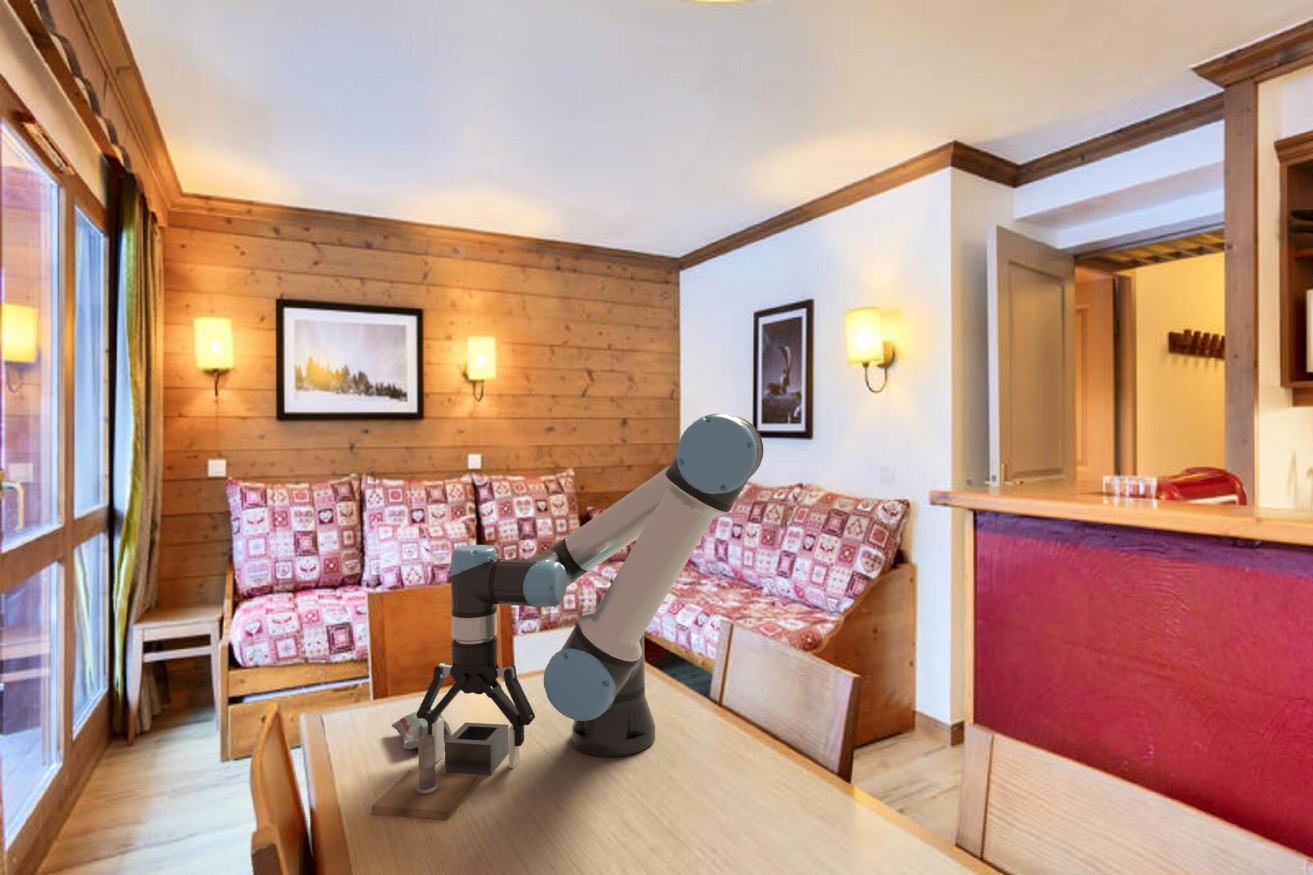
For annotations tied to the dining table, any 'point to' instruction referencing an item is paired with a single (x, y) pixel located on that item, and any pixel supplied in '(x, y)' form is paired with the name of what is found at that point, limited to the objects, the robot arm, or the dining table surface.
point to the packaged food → (416, 729)
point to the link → (476, 748)
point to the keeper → (426, 789)
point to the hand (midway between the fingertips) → (476, 761)
